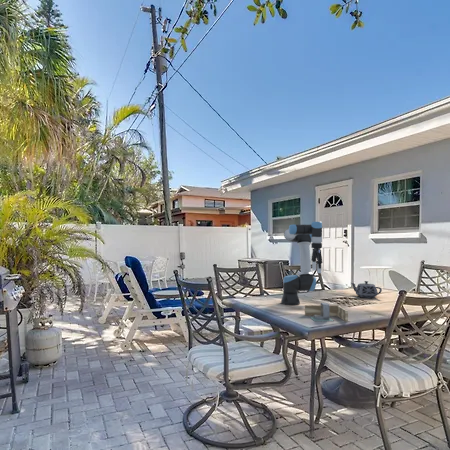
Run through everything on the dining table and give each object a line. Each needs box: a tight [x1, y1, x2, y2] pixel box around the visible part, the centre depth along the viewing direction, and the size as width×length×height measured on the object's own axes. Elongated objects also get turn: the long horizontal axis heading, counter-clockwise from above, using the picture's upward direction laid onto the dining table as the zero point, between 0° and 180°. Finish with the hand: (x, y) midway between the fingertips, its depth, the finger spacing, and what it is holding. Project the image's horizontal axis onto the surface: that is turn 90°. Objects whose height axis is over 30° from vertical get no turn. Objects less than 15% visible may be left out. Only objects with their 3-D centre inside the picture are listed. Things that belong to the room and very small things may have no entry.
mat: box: [309, 316, 334, 322], centre depth 221 cm, size 10×13×1 cm
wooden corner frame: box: [304, 304, 349, 323], centre depth 224 cm, size 18×24×7 cm
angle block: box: [313, 302, 331, 320], centre depth 221 cm, size 9×6×10 cm, turn 90°
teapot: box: [350, 280, 383, 299], centre depth 308 cm, size 19×31×15 cm, turn 38°
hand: (316, 271), depth 240 cm, fingers open, 13 cm apart
